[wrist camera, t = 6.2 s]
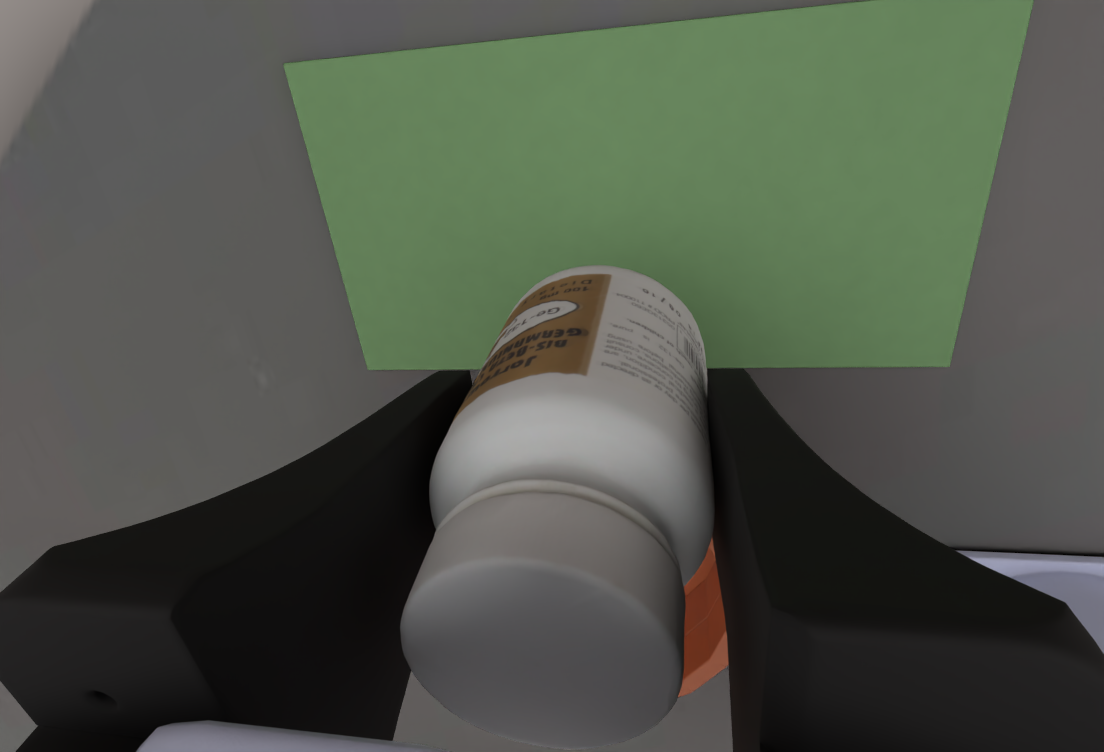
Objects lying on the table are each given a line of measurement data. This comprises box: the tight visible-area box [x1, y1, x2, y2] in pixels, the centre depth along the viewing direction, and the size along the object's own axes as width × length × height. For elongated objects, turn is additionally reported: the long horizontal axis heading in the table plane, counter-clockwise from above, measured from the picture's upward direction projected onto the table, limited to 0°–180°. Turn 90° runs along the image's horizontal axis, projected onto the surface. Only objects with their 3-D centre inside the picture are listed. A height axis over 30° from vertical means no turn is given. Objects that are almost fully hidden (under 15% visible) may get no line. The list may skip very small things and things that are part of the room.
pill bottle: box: [400, 265, 715, 750], centre depth 11 cm, size 4×4×8 cm
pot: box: [678, 538, 729, 697], centre depth 24 cm, size 12×12×4 cm
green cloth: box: [283, 0, 1034, 370], centre depth 19 cm, size 19×10×1 cm, turn 96°
